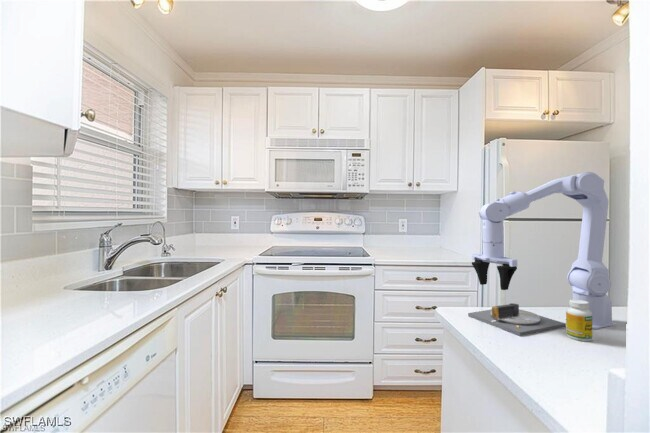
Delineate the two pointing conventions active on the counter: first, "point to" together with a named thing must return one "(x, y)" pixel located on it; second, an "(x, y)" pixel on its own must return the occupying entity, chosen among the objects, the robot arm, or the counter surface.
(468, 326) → the counter surface
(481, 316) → the dial plate
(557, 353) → the counter surface
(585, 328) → the supplement bottle
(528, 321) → the dial
